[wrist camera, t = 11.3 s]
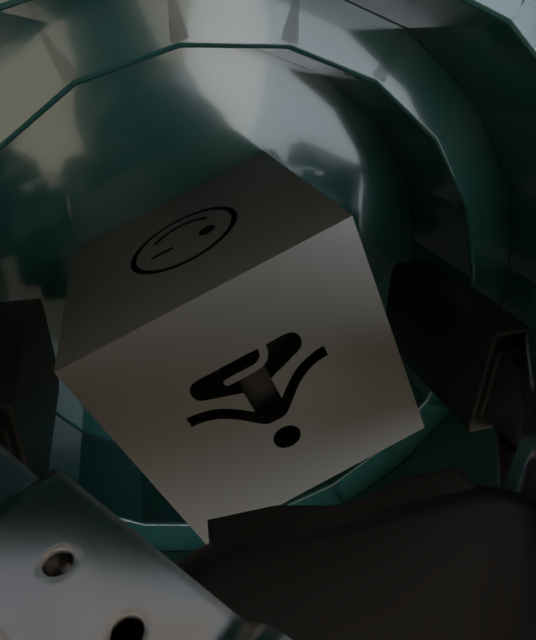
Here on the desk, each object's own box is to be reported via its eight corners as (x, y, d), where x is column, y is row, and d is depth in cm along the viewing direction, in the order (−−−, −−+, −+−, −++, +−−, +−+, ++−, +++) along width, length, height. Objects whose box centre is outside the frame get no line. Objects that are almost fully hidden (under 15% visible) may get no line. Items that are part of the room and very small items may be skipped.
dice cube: (264, 151, 12) (352, 215, 8) (332, 313, 14) (424, 427, 10) (72, 251, 12) (53, 372, 7) (177, 395, 14) (205, 544, 10)
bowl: (-223, -68, 8) (-708, -220, 3) (500, -27, 12) (790, -74, 7) (-10, 515, 15) (-66, 748, 10) (409, 435, 19) (521, 581, 14)
